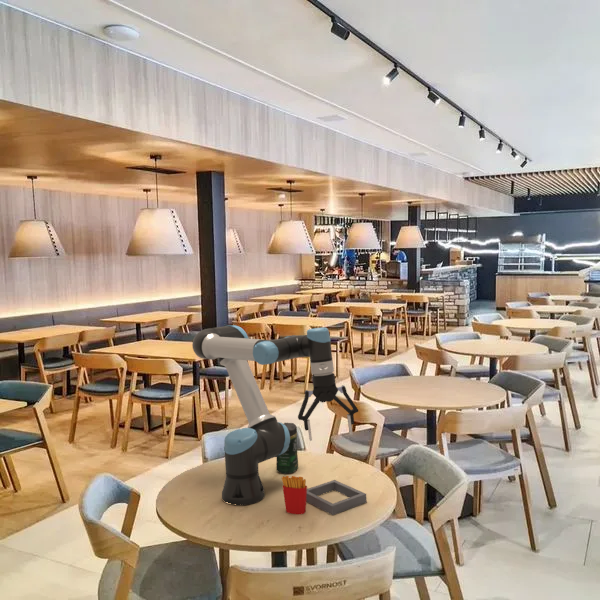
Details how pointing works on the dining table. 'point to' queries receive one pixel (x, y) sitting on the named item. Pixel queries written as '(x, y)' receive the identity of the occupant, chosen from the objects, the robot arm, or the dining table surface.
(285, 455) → the coffee jar
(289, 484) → the french fries
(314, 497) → the gray square frame
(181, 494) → the dining table surface
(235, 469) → the robot arm
